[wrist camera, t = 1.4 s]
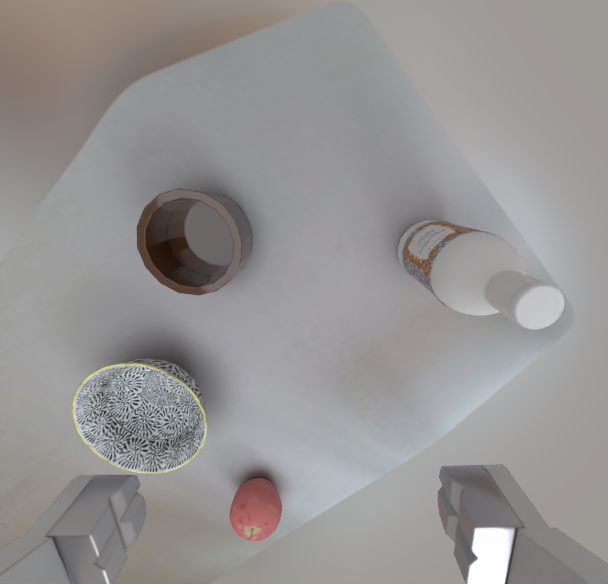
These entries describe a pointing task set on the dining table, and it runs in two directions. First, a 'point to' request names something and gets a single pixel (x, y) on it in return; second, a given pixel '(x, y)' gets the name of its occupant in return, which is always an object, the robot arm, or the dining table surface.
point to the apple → (256, 509)
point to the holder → (193, 240)
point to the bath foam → (477, 274)
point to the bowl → (141, 415)
